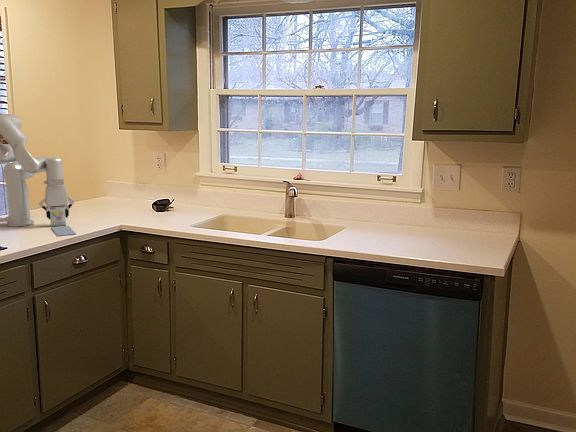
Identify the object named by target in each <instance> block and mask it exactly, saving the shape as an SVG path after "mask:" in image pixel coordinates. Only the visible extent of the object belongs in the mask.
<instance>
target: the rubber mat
mask: <svg viewBox="0 0 576 432" xmlns="http://www.w3.org/2000/svg"><path fill="white" fill-rule="evenodd" d="M50 229H51V230H52V231H53V233H54V234H55V235H56V236H57V237H65V236H75V235H77V233H76V231H74V230H73V228H71V227H70V226H69V225H66V226H53V227H51V226H50Z"/></svg>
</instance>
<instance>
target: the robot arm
mask: <svg viewBox="0 0 576 432" xmlns="http://www.w3.org/2000/svg"><path fill="white" fill-rule="evenodd" d="M21 128H22V120H21V119H20V118H19V117H18V116H17V115H15V114H9V113H2V112H0V136H2V138H3V139H4V140H5V141H6V142H7V143H5V144H4V143H2V142H1V141H0V165H4V166H3V169H2V175H3V179H4V181H5V187H6V195H7V197H6V198H7V207H8V208H7V209H8V215H7V216H6V217H0V223H1V222H2V223H5V225H6V226H7V227H13V228H14V227H26V226H32V225H34V224H35V221H34V220H33V219H31V209H30V197H29V187H28V184H27V182H26V180H27V179H31V178H32V177H34V176H35V175H36V174H40V173H44V172H45V174H46V175H45V176H46V180H44V181H43V184H44V185H46V186H45V191H44V192H45V193H44V199H42V200H41V201H39V202H38V205H39V206H40V207H41V208H42V209H43V210H44V211H45V213H46V218H47V219H48V220H50V207H52V206H65V218H66V219H68V217H69V215H70V212H69V210H70V208H72V206H73V205H74V204H75V200H73V199H72V198H70V197H68V189H67V185H66V184H65V183H64V169H63V168H64V167H63V159H62V158H60V157H48V156H47V157H46V156H36V157H35V156H34V157H33V156H32V154H31V153H30V152H29V151H28V149H27V148H26V147H27V146H26V143H27V142H28V137H27V135H26V134H25V133H24V132H23V131H22V130H21ZM69 202H70V203H69ZM44 203H45V205H46V206H45V205H44Z"/></svg>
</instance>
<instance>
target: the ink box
mask: <svg viewBox="0 0 576 432" xmlns="http://www.w3.org/2000/svg"><path fill="white" fill-rule="evenodd" d="M49 211H50V219H49V220H50V228H51V227H62V226H67V218H66V217H65V206H52V207H50V209H49Z"/></svg>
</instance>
